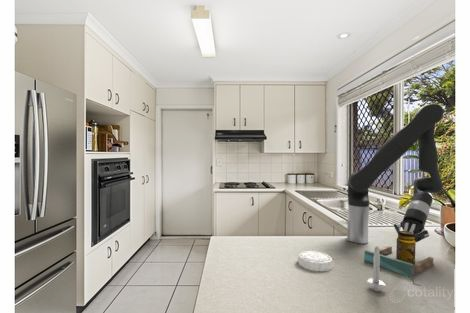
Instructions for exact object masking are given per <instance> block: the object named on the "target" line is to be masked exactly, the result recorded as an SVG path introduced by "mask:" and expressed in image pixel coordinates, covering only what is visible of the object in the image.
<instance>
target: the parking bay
mask: <svg viewBox="0 0 470 313" xmlns="http://www.w3.org/2000/svg"><path fill="white" fill-rule="evenodd" d="M392 252H393V246H392V245H386V246H384V247H381V248H379V255H380V256H379V257H380V262H379V263H380V264H379V265H380V266H381V267H380V266H379V267H380V268H383V267H384V268H383V269H386V270H389V271H393V272H395V273H398V274H401V275H404V276H407V277H410V278H412V277H414V276H415V275H418V274H419V273H421V272H423V271H424V270H426V269H428V268H430V267H431V266H432V265H434V257H433V256H428V257H426V258H424V259H422V260H421V261H419V262H417V263H415V265H413V264H411V263H407V262H404V261H401V260H398V259H396V258H395V257H394V258H393V257H391V256H388V254H391V253H392ZM373 255H374V250H373V251H371V250H367V249H366V250H364V258H363V260H364V261H363V262H366V263H367V264H368V263H369V264H371V265H374V264H373V263H374V262H373V261H374V260H373V259H374V258H373V257H374V256H373Z"/></svg>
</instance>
